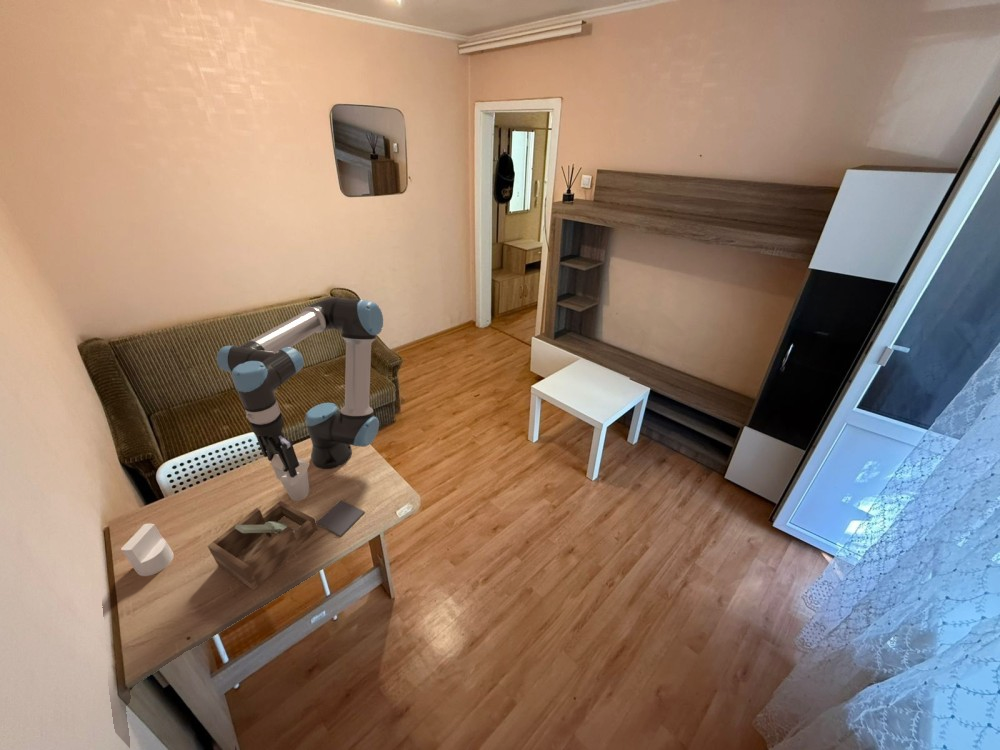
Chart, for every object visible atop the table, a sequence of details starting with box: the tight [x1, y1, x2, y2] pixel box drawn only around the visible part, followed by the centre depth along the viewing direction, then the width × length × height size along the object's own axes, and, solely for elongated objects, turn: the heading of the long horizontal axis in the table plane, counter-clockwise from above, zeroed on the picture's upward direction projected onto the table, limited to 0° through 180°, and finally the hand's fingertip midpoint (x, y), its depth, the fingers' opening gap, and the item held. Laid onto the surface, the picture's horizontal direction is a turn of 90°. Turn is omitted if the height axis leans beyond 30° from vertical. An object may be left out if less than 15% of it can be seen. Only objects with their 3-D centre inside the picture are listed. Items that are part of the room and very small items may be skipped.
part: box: [269, 454, 310, 473], centre depth 119 cm, size 9×5×3 cm
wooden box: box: [207, 500, 319, 591], centre depth 125 cm, size 23×16×10 cm
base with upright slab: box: [120, 522, 175, 577], centre depth 120 cm, size 9×9×12 cm
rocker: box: [235, 521, 297, 535], centre depth 125 cm, size 19×9×2 cm
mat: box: [315, 499, 366, 537], centre depth 138 cm, size 11×11×1 cm
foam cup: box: [278, 457, 310, 502], centre depth 143 cm, size 10×9×13 cm
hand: (288, 479), depth 120 cm, fingers closed on part, 5 cm apart
